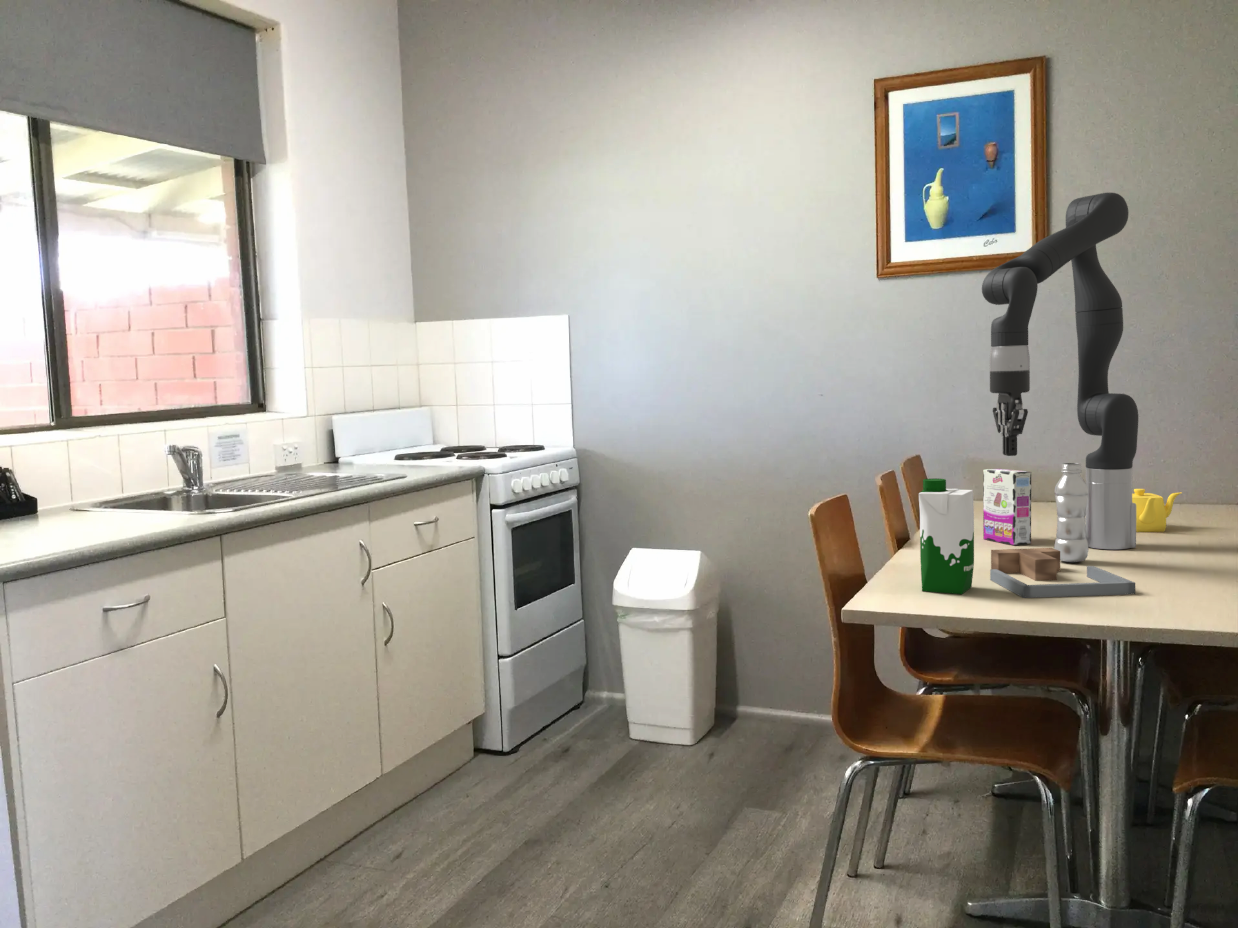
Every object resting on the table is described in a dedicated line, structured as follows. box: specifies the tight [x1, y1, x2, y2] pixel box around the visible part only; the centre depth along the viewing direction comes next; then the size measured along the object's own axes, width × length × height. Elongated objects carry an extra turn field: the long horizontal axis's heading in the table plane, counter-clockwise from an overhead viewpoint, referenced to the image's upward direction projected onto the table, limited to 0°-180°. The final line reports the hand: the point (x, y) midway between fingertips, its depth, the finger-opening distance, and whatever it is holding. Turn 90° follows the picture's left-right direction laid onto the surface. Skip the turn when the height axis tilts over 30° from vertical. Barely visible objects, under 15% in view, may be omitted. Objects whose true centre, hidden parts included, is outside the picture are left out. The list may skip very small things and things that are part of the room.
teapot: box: [1132, 488, 1183, 533], centre depth 253 cm, size 15×14×10 cm
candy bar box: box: [982, 468, 1032, 546], centre depth 241 cm, size 11×5×16 cm, turn 18°
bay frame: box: [989, 565, 1136, 599], centre depth 192 cm, size 19×16×2 cm
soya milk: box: [918, 478, 975, 595], centre depth 192 cm, size 9×9×20 cm
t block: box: [990, 547, 1061, 582], centre depth 204 cm, size 12×12×4 cm
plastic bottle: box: [1053, 462, 1090, 564], centre depth 214 cm, size 6×7×20 cm
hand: (1009, 455), depth 214 cm, fingers closed
